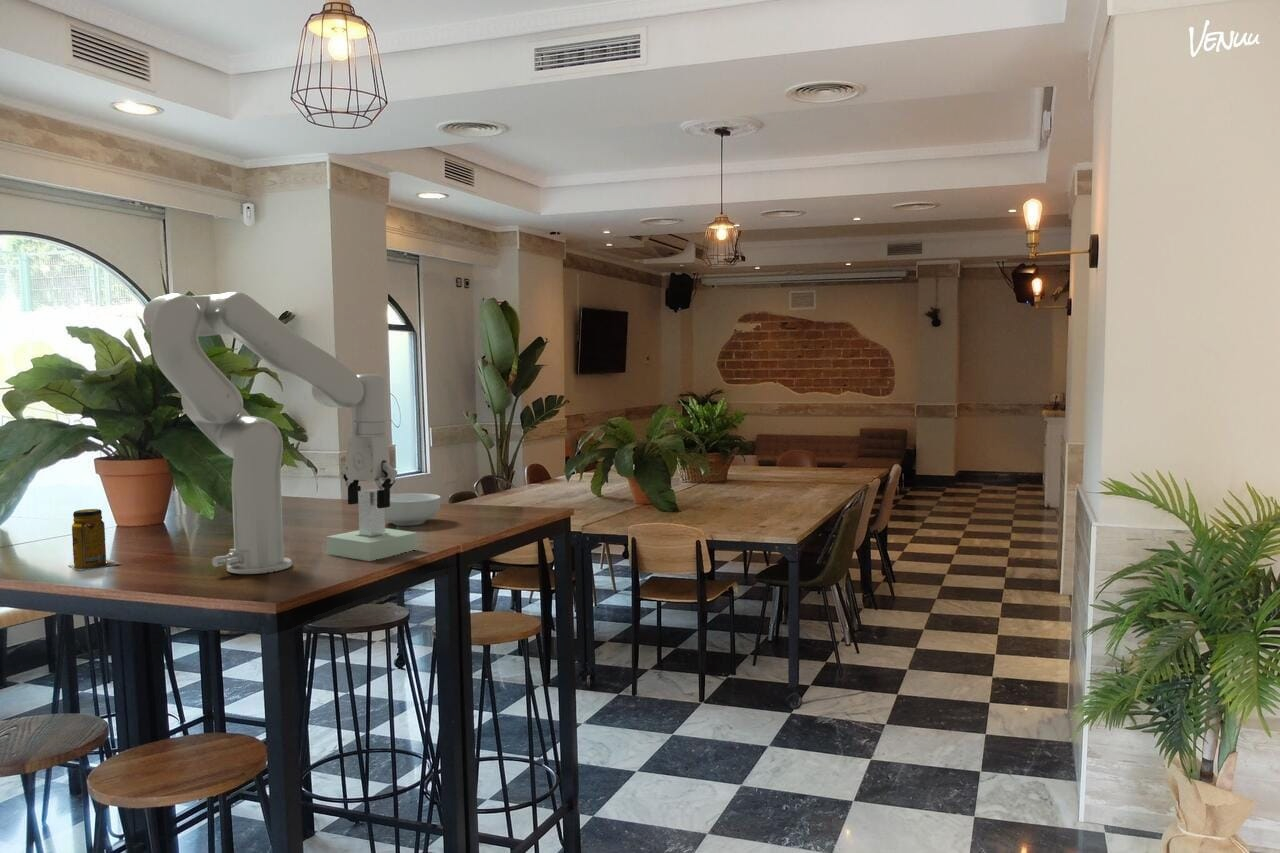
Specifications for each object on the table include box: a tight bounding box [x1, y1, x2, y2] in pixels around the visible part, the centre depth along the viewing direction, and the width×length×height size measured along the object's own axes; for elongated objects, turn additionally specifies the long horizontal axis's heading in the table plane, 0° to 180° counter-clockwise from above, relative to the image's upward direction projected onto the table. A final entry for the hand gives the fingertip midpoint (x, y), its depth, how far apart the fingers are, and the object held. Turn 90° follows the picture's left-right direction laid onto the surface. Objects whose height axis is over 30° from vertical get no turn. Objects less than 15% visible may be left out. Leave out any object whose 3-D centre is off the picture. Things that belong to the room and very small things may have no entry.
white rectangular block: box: [358, 488, 386, 538], centre depth 216 cm, size 4×4×14 cm
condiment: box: [68, 508, 122, 571], centre depth 204 cm, size 7×8×12 cm
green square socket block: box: [326, 527, 419, 562], centre depth 216 cm, size 14×14×4 cm
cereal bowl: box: [385, 492, 442, 526], centre depth 254 cm, size 17×17×7 cm
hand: (368, 505), depth 215 cm, fingers open, 9 cm apart
